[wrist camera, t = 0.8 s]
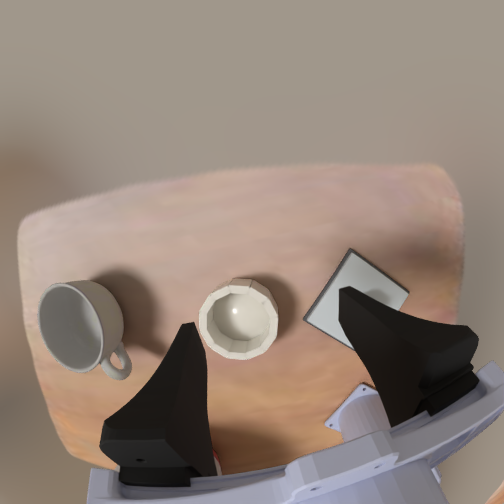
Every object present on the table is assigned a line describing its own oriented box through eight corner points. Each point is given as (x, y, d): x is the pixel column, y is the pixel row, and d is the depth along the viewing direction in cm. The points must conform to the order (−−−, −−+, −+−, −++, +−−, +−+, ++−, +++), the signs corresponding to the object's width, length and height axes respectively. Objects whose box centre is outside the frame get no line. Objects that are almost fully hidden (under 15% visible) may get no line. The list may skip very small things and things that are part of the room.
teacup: (62, 303, 34) (26, 317, 26) (99, 256, 33) (60, 264, 25) (119, 378, 34) (92, 406, 26) (166, 341, 33) (139, 370, 25)
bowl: (290, 303, 31) (293, 313, 27) (252, 356, 32) (249, 371, 28) (230, 264, 31) (224, 270, 27) (195, 320, 32) (186, 332, 28)
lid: (406, 292, 30) (422, 300, 26) (364, 353, 31) (374, 368, 27) (351, 252, 30) (362, 255, 26) (306, 319, 31) (311, 331, 27)
